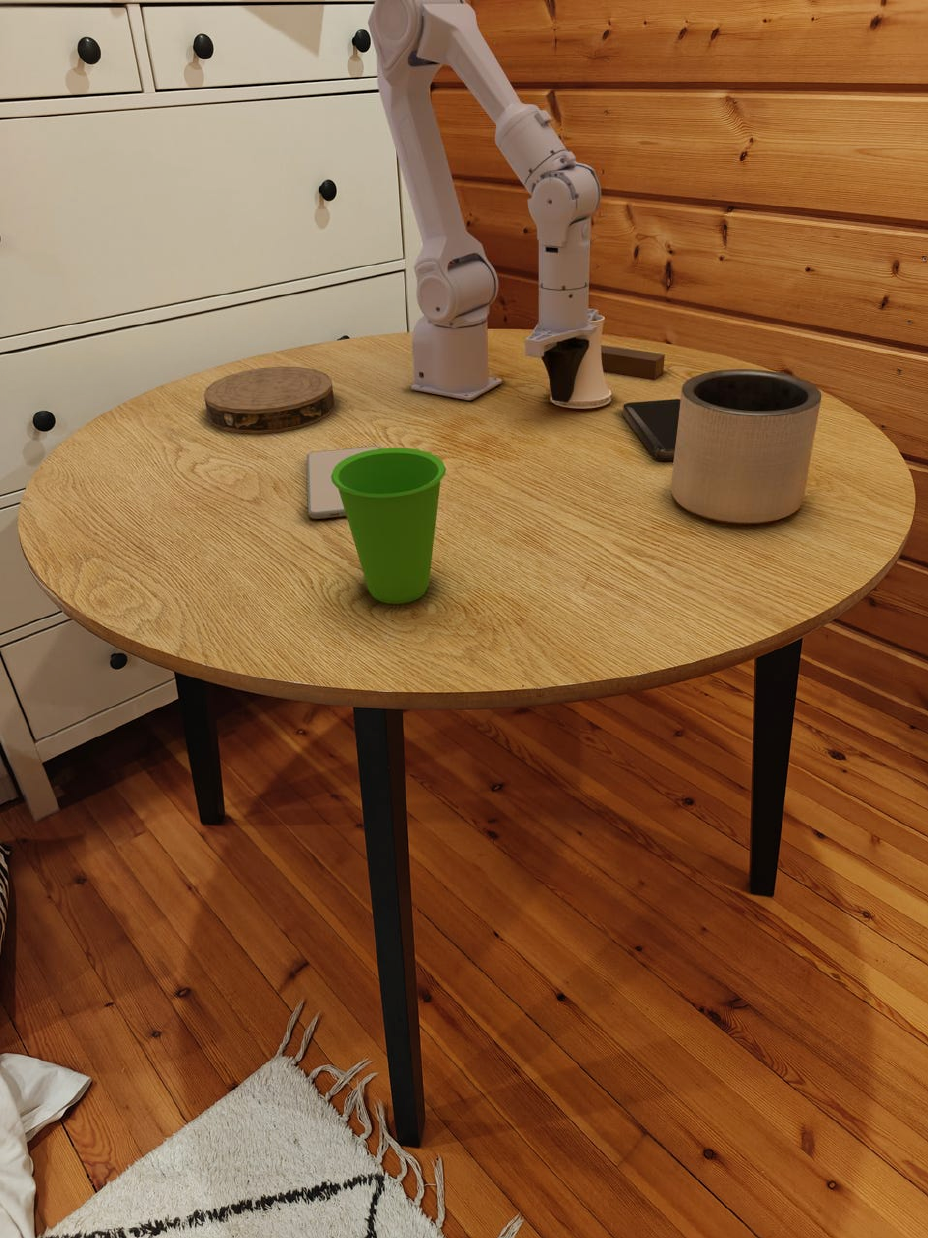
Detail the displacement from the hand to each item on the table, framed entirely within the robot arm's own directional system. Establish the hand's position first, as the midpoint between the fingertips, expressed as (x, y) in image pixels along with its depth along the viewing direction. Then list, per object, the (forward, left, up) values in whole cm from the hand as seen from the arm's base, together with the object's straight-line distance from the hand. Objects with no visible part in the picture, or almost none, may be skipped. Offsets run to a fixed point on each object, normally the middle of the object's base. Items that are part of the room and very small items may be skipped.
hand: (562, 399), depth 110 cm
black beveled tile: (+15, -1, -1) cm, 15 cm away
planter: (+27, -14, -1) cm, 30 cm away
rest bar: (0, +17, -1) cm, 17 cm away
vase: (+1, +3, -1) cm, 4 cm away
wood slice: (-32, -17, -1) cm, 37 cm away
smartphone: (-9, -30, -1) cm, 32 cm away
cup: (+8, -44, -1) cm, 45 cm away
